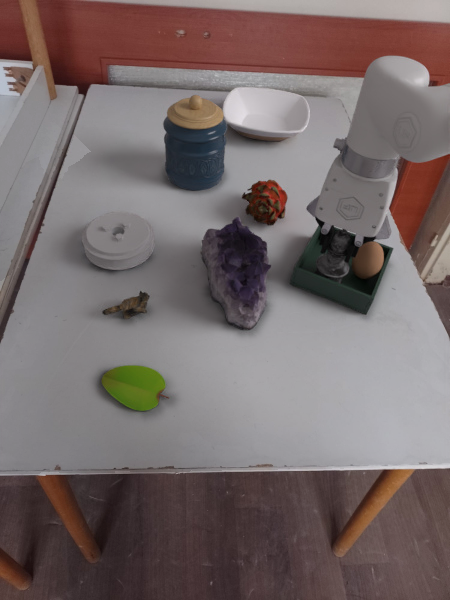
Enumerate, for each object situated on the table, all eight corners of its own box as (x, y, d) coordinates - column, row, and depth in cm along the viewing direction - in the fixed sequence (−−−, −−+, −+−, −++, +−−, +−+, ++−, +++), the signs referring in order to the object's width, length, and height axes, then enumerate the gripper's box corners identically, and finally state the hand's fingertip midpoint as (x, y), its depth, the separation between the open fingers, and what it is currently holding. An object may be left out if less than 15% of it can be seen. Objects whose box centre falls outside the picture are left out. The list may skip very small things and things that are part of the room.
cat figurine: (156, 314, 74) (149, 299, 70) (109, 328, 73) (100, 314, 70) (153, 301, 75) (146, 286, 72) (107, 315, 75) (98, 301, 72)
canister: (212, 197, 95) (216, 118, 81) (155, 183, 97) (150, 103, 84) (231, 165, 103) (237, 88, 90) (179, 152, 105) (177, 75, 92)
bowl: (227, 102, 122) (229, 83, 118) (306, 112, 121) (310, 93, 117) (215, 144, 108) (216, 124, 104) (305, 156, 107) (309, 136, 103)
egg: (375, 288, 80) (391, 257, 74) (346, 283, 80) (359, 251, 74) (375, 268, 83) (389, 236, 77) (347, 263, 84) (359, 231, 78)
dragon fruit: (263, 243, 89) (255, 212, 98) (301, 221, 86) (289, 191, 95) (240, 213, 84) (234, 183, 93) (280, 189, 81) (269, 160, 90)
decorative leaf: (128, 425, 62) (127, 423, 61) (97, 378, 66) (96, 375, 65) (175, 394, 65) (174, 392, 64) (143, 351, 69) (142, 348, 68)
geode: (288, 325, 74) (292, 288, 66) (220, 340, 74) (215, 304, 65) (257, 239, 86) (257, 199, 78) (199, 251, 85) (192, 212, 77)
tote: (386, 263, 85) (393, 248, 82) (366, 314, 77) (373, 299, 74) (316, 237, 89) (320, 221, 86) (289, 283, 80) (293, 267, 77)
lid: (115, 284, 78) (111, 264, 74) (71, 248, 83) (65, 227, 79) (168, 249, 84) (167, 229, 80) (125, 217, 89) (122, 197, 85)
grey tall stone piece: (320, 262, 83) (337, 211, 74) (349, 277, 81) (369, 226, 72) (305, 280, 80) (320, 229, 71) (334, 296, 78) (354, 245, 69)
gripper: (304, 151, 62) (283, 249, 76) (424, 190, 58) (378, 285, 72) (321, 128, 66) (298, 224, 80) (434, 162, 62) (389, 257, 76)
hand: (336, 252), depth 76 cm, fingers closed on grey tall stone piece, 3 cm apart
